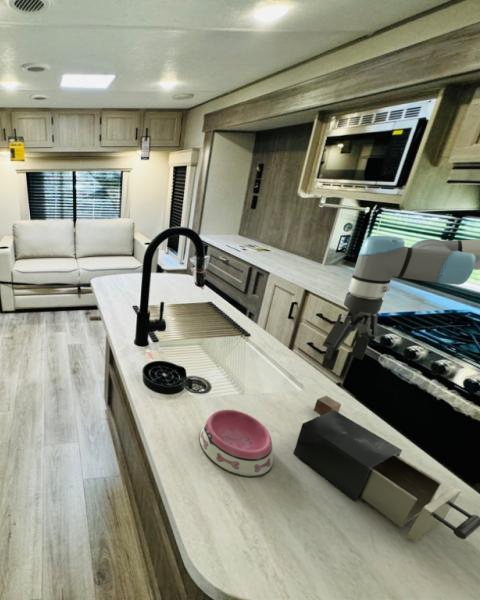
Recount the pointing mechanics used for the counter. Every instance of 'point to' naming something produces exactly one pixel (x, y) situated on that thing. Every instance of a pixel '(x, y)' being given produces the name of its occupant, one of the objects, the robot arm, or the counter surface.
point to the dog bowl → (237, 443)
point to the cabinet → (342, 451)
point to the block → (326, 405)
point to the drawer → (413, 498)
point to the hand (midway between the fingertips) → (342, 362)
